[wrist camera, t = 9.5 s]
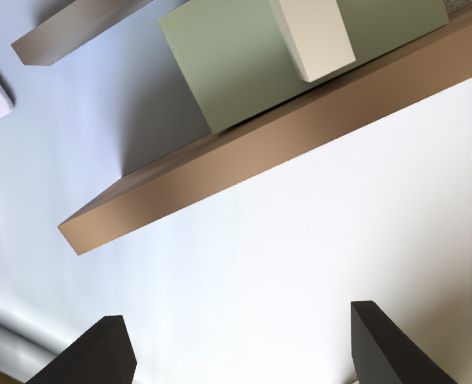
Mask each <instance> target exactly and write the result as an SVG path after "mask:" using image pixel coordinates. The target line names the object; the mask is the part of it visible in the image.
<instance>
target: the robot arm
mask: <svg viewBox="0 0 472 384" xmlns="http://www.w3.org/2000/svg"><path fill="white" fill-rule="evenodd" d="M12 110H13V103H12V101H11V100H10V98H9V97H8V95H7V94H6V92H5V91H4V90H3V88H2V87H1V85H0V119H1V118H3V117H4V116H6V115H8V114H9V113H11V112H12ZM351 347H352V358H353V362H354V366H355V370H356V374H357V377H358V381H359V384H458V383H457V382H456V381H454V380H453V379H452V378H451V377H450V376H449V375H448V374H446V373H445V372H444V371H443V370H442V369H441V368H440V367H439V366H438V365H437V364H435V363H434V362H433V361H432V360H431V359H430V358H429V357H428V356H427V355H426V354H425V353H424V352H423V351H422V350H421V349H420V348H419V347H418V346H416V345H415V344H414V343H413V342H412V341H411V340H410V339H409V338H408V337H407V336H406V335H405V334H404V333H403V332H402V331H401V330H400V329H399V328H398V327H397V326H396V325H395V323H394V322H393V321H392V320H391V319H390V318H389V317H388V316H387V315H386V314H385V313H384V312H383V311H382V310H381V309H380V308H379V306H378V305H377V304H376V303H375V302H373V301H372V300H371V301H354V302H351ZM136 365H137V361H136V358H135V354H134V351H133V348H132V345H131V342H130V339H129V335H128V332H127V329H126V326H125V323H124V319H123V316H122V315H116V316H104V317H103V318H102V319H100V320H99V321H98V322H97V323H95V324H94V325H93V326H92V327H91V328H89V329H88V330H87V331H86V332H85V333H84V334H83V335H81V336H80V337H79V338H78V339H77V340H76V341H74V342H73V343H72V344H71V345H70V346H69V347H68V348H66V349H65V350H64V351H63V352H62V353H61V354H60V355H58V356H57V357H56V358H55V359H54V360H53V361H51V362H50V363H49V364H48V365H47V366H46V367H44V368H43V369H42V370H41V371H40V372H38V373H37V374H36V375H35V376H34V377H32V378H31V379H30V380H29V381H27V382H26V383H25V384H132V380H133V377H134V373H135V369H136Z"/></svg>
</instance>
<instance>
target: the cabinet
mask: <svg viewBox="0 0 472 384" xmlns="http://www.w3.org/2000/svg"><path fill="white" fill-rule="evenodd" d="M156 21H157V23H158V25H159V27H160V29H161V31H162V33H163V35H164V37H165V39H166V41H167V43H168V45H169V47H170V49H171V51H172V53H173V55H174V57H175V59H176V61H177V64H178V66H179V68H180V70H181V72H182V74H183V76H184V78H185V80H186V82H187V84H188V86H189V88H190V90H191V92H192V94H193V96H194V98H195V100H196V102H197V104H198V106H199V108H200V110H201V112H202V114H203V116H204V118H205V120H206V122H207V124H208V126H209V128H210V130H211V132H212V134H216V133H218V132H220V131H222V130H224V129H226V128H228V127H230V126H233V125H235V124H237V123H239V122H241V121H243V120H245V119H247V118H249V117H252V116H254V115H256V114H258V113H260V112H262V111H264V110H266V109H268V108H271V107H273V106H275V105H277V104H279V103H281V102H283V101H285V100H287V99H290V98H292V97H294V96H296V95H298V94H300V93H302V92H304V91H306V90H309V89H311V88H313V87H315V86H317V85H319V84H321V83H323V82H325V81H328V80H330V79H332V78H334V77H336V76H338V75H340V74H342V73H344V72H347V71H349V70H351V69H353V68H355V67H357V66H359V65H361V64H363V63H366V62H368V61H370V60H372V59H374V58H376V57H378V56H380V55H382V54H385V53H387V52H389V51H391V50H393V49H395V48H397V47H399V46H401V45H404V44H406V43H408V42H410V41H412V40H414V39H416V38H418V37H420V36H423V35H425V34H427V33H429V32H431V31H433V30H435V29H437V28H439V27H442V26H444V25H446V24H448V23H449V19H448V15H447V11H446V6H445V2H444V0H190V1H188V2H186V3H184V4H183V5H181V6H179V7H178V8H176V9H174V10H172V11H171V12H169V13H167V14H166V15H164V16H162V17H161V18H159V19H157V20H156Z"/></svg>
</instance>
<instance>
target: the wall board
mask: <svg viewBox="0 0 472 384" xmlns="http://www.w3.org/2000/svg"><path fill="white" fill-rule="evenodd" d="M151 1H153V0H76V1H74V2H73V3H71V4H70V5H68V6H67V7H65V8H64V9H62V10H61V11H60V12H58V13H57V14H55V15H54V16H52V17H51V18H49V19H48V20H46V21H45V22H43V23H42V24H40V25H39V26H37V27H36V28H34V29H33V30H31V31H30V32H28V33H27V34H25V35H24V36H23V37H21V38H20V39H18V40H17V41H15V42H14V43H12V44H11V46H12V47H13V49H14V50H15V52H16V53H17V55H18V56H19V58H20V59H21V61H22V63H23V64H24V65H43V66H50V65H52V64H53V63H55V62H56V61H58V60H60V59H61V58H63V57H64V56H66V55H67V54H69V53H71V52H72V51H74V50H75V49H77V48H78V47H80V46H82V45H83V44H85V43H86V42H88V41H90V40H91V39H93V38H94V37H96V36H97V35H99V34H101V33H102V32H104V31H105V30H107V29H108V28H110V27H112V26H113V25H115V24H116V23H118V22H120V21H121V20H123V19H124V18H126V17H127V16H129V15H131V14H132V13H134V12H135V11H137V10H138V9H140V8H142V7H143V6H145V5H146V4H148V3H149V2H151ZM447 15H448V19H449V23H448V24H446V25H444V26H442V27H439V28H437V29H435V30H433V31H431V32H429V33H427V34H425V35H423V36H420V37H418V38H416V39H414V40H412V41H410V42H408V43H406V44H404V45H401V46H399V47H397V48H395V49H393V50H391V51H389V52H387V53H385V54H382V55H380V56H378V57H376V58H374V59H372V60H370V61H368V62H366V63H363V64H361V65H359V66H357V67H355V68H353V69H351V70H349V71H347V72H344V73H342V74H340V75H338V76H336V77H334V78H332V79H330V80H328V81H325V82H323V83H321V84H319V85H317V86H315V87H313V88H311V89H309V90H306V91H304V92H302V93H300V94H298V95H296V96H294V97H292V98H290V99H287V100H285V101H283V102H281V103H279V104H277V105H275V106H273V107H271V108H268V109H266V110H264V111H262V112H260V113H258V114H256V115H254V116H252V117H249V118H247V119H245V120H243V121H241V122H239V123H237V124H235V125H233V126H230V127H228V128H226V129H224V130H222V131H220V132H218V133H216V134H212V133H210V134H208V135H206V136H204V137H202V138H200V139H198V140H196V141H194V142H192V143H190V144H188V145H186V146H184V147H182V148H180V149H178V150H176V151H174V152H172V153H170V154H168V155H166V156H164V157H162V158H160V159H158V160H156V161H154V162H152V163H150V164H148V165H146V166H144V167H142V168H140V169H138V170H136V171H134V172H132V173H130V174H128V175H126V176H124V177H122V178H121V179H119V180H118V181H117V182H115V183H114V184H113V185H111V186H110V187H109V188H107V189H106V190H105V191H103V192H102V193H101V194H99V195H98V196H97V197H95V198H94V199H93V200H92V201H90V202H89V203H88V204H86V205H85V206H84V207H82V208H81V209H80V210H78V211H77V212H76V213H74V214H73V215H72V216H70V217H69V218H68V219H66V220H65V221H64V222H62V223H61V224H60V225H59V226H57V228H58V229H59V230H60V232H61V233H62V234H63V236H64V237H65V238H66V240H67V241H68V242H69V244H70V245H71V247H72V248H73V249H74V251H75V252H76V253H77V255H78V256H79V255H81V254H83V253H86V252H88V251H90V250H92V249H94V248H97V247H99V246H101V245H103V244H105V243H108V242H110V241H112V240H114V239H116V238H119V237H121V236H123V235H125V234H128V233H130V232H132V231H134V230H136V229H139V228H141V227H143V226H145V225H147V224H150V223H152V222H154V221H156V220H158V219H161V218H163V217H165V216H167V215H169V214H172V213H174V212H176V211H178V210H180V209H183V208H185V207H187V206H189V205H191V204H194V203H196V202H198V201H200V200H202V199H205V198H207V197H209V196H211V195H213V194H216V193H218V192H220V191H222V190H225V189H227V188H229V187H231V186H233V185H236V184H238V183H240V182H242V181H244V180H247V179H249V178H251V177H253V176H255V175H258V174H260V173H262V172H264V171H266V170H269V169H271V168H273V167H275V166H277V165H280V164H282V163H284V162H286V161H288V160H291V159H293V158H295V157H297V156H299V155H302V154H304V153H306V152H308V151H311V150H313V149H315V148H317V147H319V146H322V145H324V144H326V143H328V142H330V141H333V140H335V139H337V138H339V137H341V136H344V135H346V134H348V133H350V132H352V131H355V130H357V129H359V128H361V127H363V126H366V125H368V124H370V123H372V122H374V121H377V120H379V119H381V118H383V117H385V116H388V115H390V114H392V113H394V112H396V111H399V110H401V109H403V108H405V107H408V106H410V105H412V104H414V103H416V102H419V101H421V100H423V99H425V98H427V97H430V96H432V95H434V94H436V93H438V92H441V91H443V90H445V89H447V88H449V87H452V86H454V85H456V84H458V83H460V82H463V81H465V80H467V79H469V78H471V77H472V2H471V3H469V4H467V5H465V6H463V7H461V8H459V9H457V10H455V11H453V12H451V13H449V14H447Z"/></svg>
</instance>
